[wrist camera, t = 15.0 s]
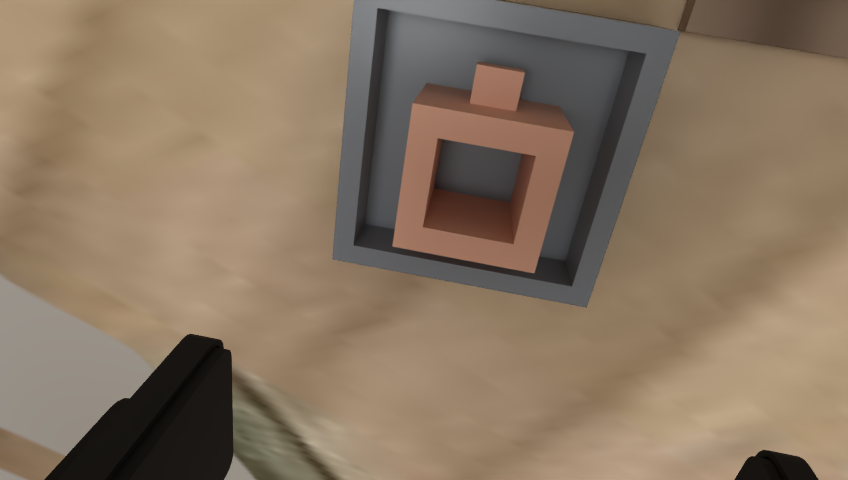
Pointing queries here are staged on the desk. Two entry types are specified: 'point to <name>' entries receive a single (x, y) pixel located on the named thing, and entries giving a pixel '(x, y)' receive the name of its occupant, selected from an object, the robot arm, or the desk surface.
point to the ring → (495, 128)
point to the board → (773, 23)
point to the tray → (488, 167)
